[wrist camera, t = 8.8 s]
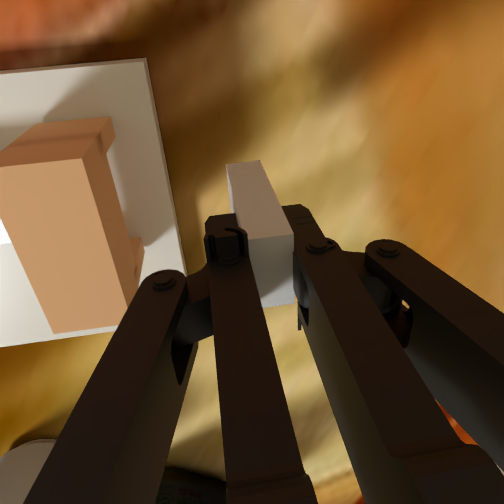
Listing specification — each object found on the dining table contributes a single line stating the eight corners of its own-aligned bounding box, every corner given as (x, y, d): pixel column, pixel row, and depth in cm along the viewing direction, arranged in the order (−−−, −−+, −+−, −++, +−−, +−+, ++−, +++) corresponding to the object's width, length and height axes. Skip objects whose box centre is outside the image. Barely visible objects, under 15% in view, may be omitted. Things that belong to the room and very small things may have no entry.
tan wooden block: (110, 115, 19) (81, 158, 14) (144, 251, 23) (132, 323, 18) (36, 123, 19) (-22, 169, 14) (84, 259, 23) (53, 334, 18)
